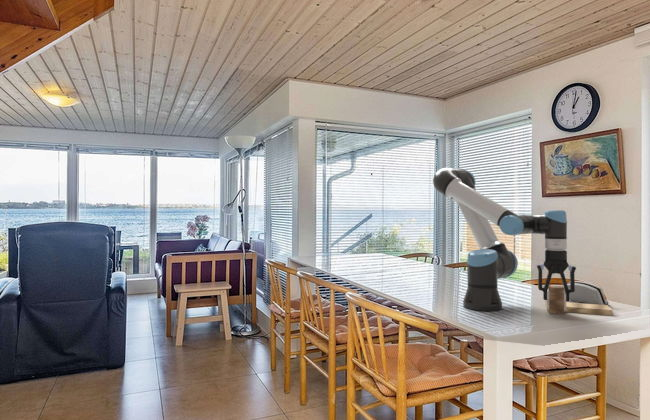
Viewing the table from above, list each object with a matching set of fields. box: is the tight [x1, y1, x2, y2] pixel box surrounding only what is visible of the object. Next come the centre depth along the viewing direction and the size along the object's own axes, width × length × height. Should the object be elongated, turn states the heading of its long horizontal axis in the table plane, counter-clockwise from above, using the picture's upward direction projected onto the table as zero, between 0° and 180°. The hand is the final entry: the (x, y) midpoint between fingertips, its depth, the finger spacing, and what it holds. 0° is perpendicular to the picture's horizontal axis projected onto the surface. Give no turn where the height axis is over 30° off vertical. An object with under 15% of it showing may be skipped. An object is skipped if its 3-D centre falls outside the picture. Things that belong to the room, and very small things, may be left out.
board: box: [544, 300, 613, 316], centre depth 170 cm, size 22×9×2 cm, turn 67°
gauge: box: [547, 285, 565, 315], centre depth 172 cm, size 5×15×10 cm, turn 157°
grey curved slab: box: [564, 280, 610, 306], centre depth 185 cm, size 17×5×10 cm, turn 26°
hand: (556, 309), depth 167 cm, fingers closed on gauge, 5 cm apart
